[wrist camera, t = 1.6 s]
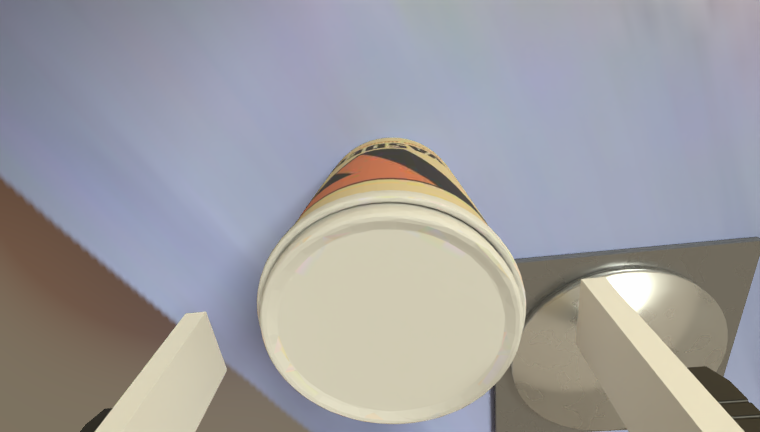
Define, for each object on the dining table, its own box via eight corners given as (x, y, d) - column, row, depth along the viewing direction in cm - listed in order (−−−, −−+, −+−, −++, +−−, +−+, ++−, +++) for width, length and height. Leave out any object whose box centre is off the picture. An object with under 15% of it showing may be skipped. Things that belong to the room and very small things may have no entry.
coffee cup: (465, 111, 22) (537, 186, 11) (472, 258, 26) (530, 422, 15) (300, 132, 23) (213, 222, 12) (329, 272, 26) (285, 438, 16)
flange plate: (492, 261, 26) (497, 271, 25) (757, 236, 24) (774, 246, 23) (494, 431, 32) (498, 445, 31) (704, 419, 31) (715, 433, 30)
